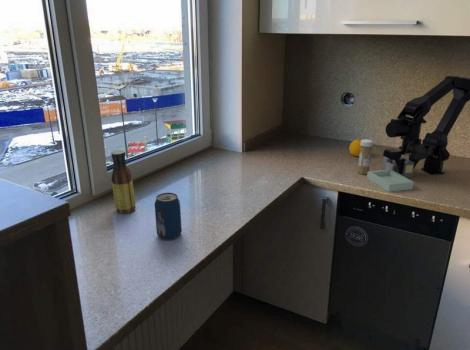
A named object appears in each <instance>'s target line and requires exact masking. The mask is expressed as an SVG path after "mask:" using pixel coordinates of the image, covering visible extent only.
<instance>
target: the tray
mask: <svg viewBox="0 0 470 350" xmlns="http://www.w3.org/2000/svg"><path fill="white" fill-rule="evenodd" d="M366 179H367V180H369V181H370V182H372V183H373V184H375V185H377V186H379V187H380V188H382V189H383V190H385V191H386V192H387V193H392V192H398V191H408V190H409V191H410V190H413V189H414V183H415V181H413V180H411V179H410V178H408V177H406V178H405V177H404V176H402V175H400V174H398V173H396V172H394V171H393V170H391V169H389V170H384V169H379V170H378V169H377V170H371V171H370V170H369V171H368V173H367V174H366Z"/></svg>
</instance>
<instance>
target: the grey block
mask: <svg viewBox="0 0 470 350" xmlns="http://www.w3.org/2000/svg"><path fill="white" fill-rule="evenodd" d="M404 159H407V160H406V161H405V162H404V166H403V171H402V174H400V175H402V176H404V177H405V178H412V177H413V173H414V169H415V168H414V163H415V162H413V161H410V160H409V158H406V157H404ZM392 164H393V165H395V168H394V172H396V173H398V174H399V171H398V168H397V165H396V162H395V160H392ZM413 168H414V169H413Z"/></svg>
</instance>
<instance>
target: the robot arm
mask: <svg viewBox="0 0 470 350" xmlns="http://www.w3.org/2000/svg"><path fill="white" fill-rule="evenodd" d="M451 91H452V95H453V96H452V98H451V100H450V102H449V105H448V106H447V108H446V110H445V112H444V114H443V115H442V117H441V119H440V120H439V123H438V124H437V126H436V128H435V130H434V131H432V132H431V133H430V132H427V133H426V134H425V136H424V138H423V140H422V139H421V138H420V135H421V129H422V124H423V125H424V124H427V121H426V119H425V116H426V115H428V114H429V112H431V109H432V107H433V105H435V104H436V103H437V102H438V101H439V100H441V99H442V98H444V97H445V96H446V95H448V94H449V93H451ZM469 101H470V77H469V76H468V77H467V76H461V77H460V76H458V75H451V74H450V75H446V76H445V77H444V78H443V80H442V81H440V82H439V83H437V84H436V85H435V86H433V87H432V88H431V89H430V90H428V91H427V92H426V93H425V94H423V95H421V96H419V97H415V98H413V99H411V100H409V101H407V102H406V103H405V105H404V107H403V109H402V110H401V111H400V112H399V114H398V115H397V117H396V118H391V119H390V122H388V123H387V124H386V125H385V134H386V136H387V137H388V138H400V139H401V145H400V146H398V149H399V150H398V149H396V148H385V149H383V152H382V155H383V157H387V158H389V159H391V160H395V162H396V165H397V168H398V171H399V174H402V171H403V166H404V162H405V161H406V160H407V159H408V160H410V161H413V162H415V163H414V168H413V170H414V169H415V167H416V165H418V163H419V162H420V161H421V160H424V161H423V167H421V168H420V170H421V171H423V172H425V173H427V174H429V175H440V174H441V175H442V174H445V173H446V172H445V171H443V167H444V163H445V161H447V160H449V158H450V156H451V154H450V152H449V151H448V150H447V147H448V144H449V143H448V135H449V134H450V132H451V131H452V129H453V126H455V123H456V122H457V120H458V118H459V116H460V114H461V113H462V111H463V110H464V107H465V105H466V104H467V103H468V102H469ZM405 156H408V158H406V157H405ZM404 158H406V159H404Z"/></svg>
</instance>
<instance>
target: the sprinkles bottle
mask: <svg viewBox="0 0 470 350" xmlns="http://www.w3.org/2000/svg"><path fill="white" fill-rule="evenodd" d="M360 140H361V143H360V145H361V148H360V155H359V156H358V164H357V165H358V166H357V167H358V168H357V173H358V174H359V175H367V173H368V171H370V166H371V160H372V159H371V158H372V148H373V144H374V143H373V142H374V141H373V140H372V139H365V138H364V139H360Z"/></svg>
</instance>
